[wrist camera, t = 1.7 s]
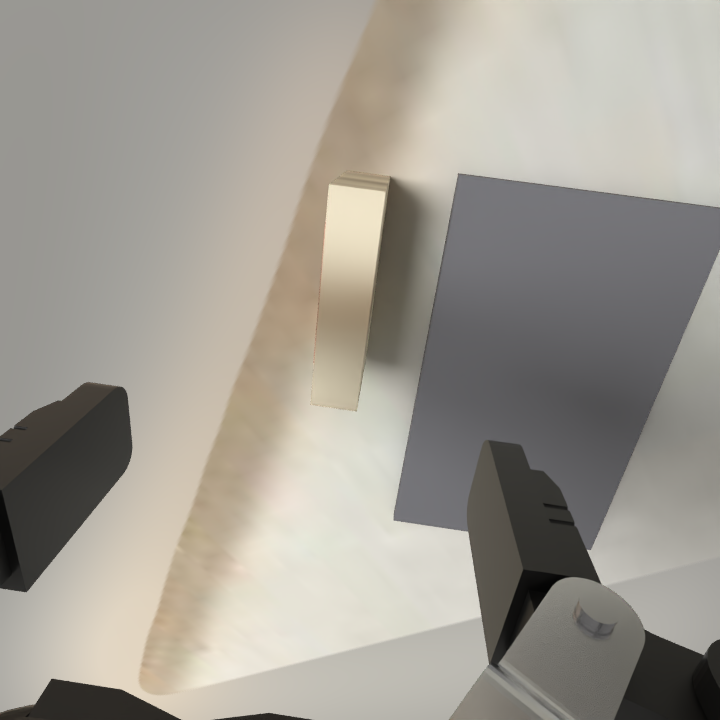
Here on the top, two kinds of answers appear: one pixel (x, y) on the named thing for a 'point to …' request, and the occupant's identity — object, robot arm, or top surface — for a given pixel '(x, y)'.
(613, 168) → the top surface
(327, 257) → the wooden block
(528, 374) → the mat
